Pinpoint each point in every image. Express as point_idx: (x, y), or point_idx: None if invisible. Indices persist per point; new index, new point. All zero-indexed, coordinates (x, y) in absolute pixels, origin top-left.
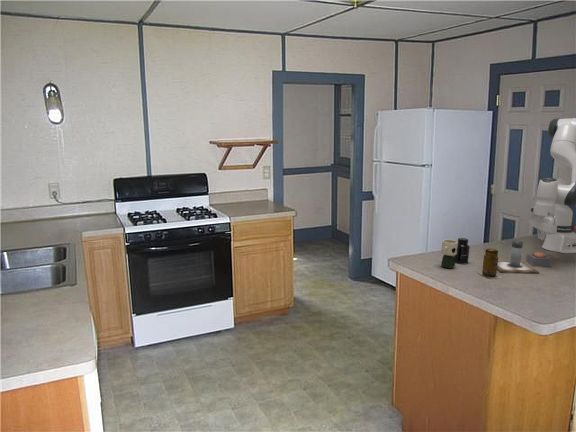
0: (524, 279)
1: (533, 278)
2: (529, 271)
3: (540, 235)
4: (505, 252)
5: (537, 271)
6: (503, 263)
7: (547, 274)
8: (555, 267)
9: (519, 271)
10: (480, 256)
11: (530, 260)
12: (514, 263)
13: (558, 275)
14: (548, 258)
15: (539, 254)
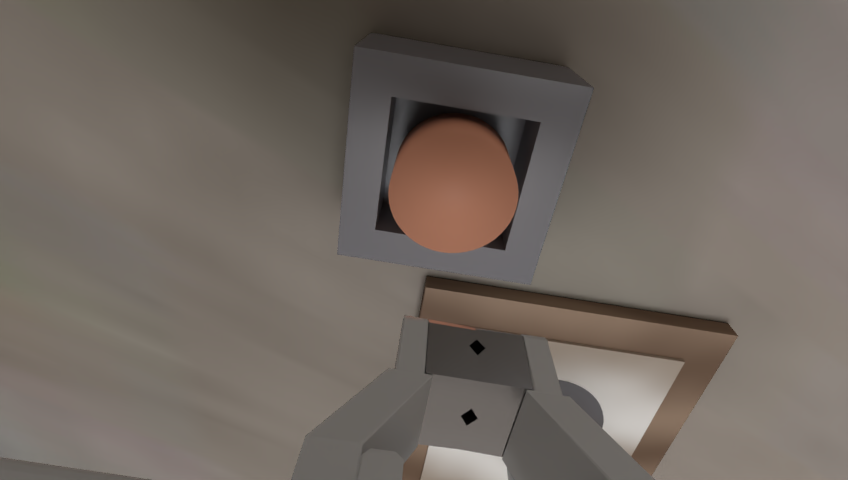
0: (780, 471)
1: (794, 416)
2: (697, 398)
3: (460, 434)
4: (23, 225)
5: (723, 345)
6: (467, 457)
7: (770, 268)
8: (609, 21)
9: (664, 451)
10: (219, 459)
11: None
12: None
13: (844, 189)
14: (572, 123)
15: (503, 228)
